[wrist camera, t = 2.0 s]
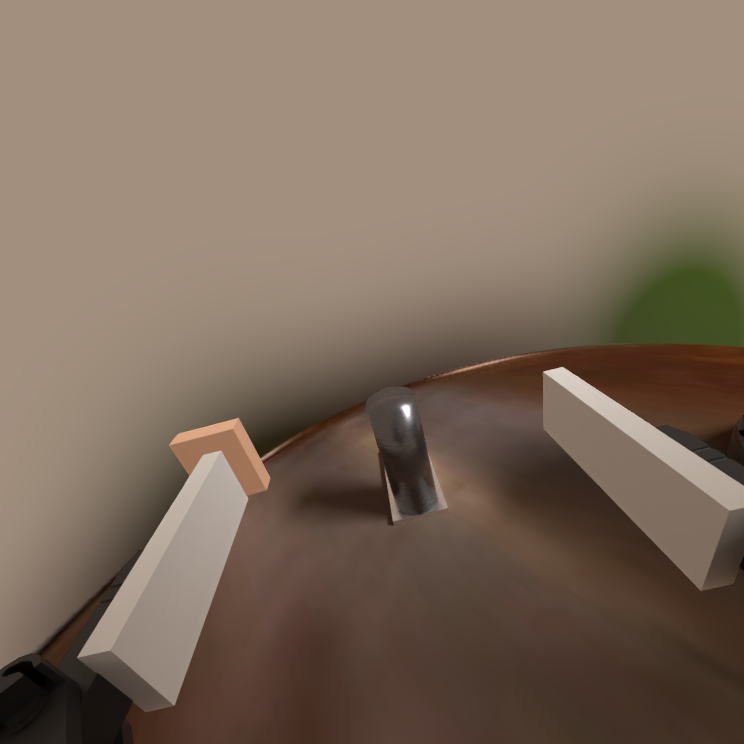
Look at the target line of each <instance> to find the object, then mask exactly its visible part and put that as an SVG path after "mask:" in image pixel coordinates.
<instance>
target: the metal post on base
mask: <svg viewBox="0 0 744 744" xmlns="http://www.w3.org/2000/svg"><path fill="white" fill-rule="evenodd" d="M366 409H367V412H368V416H369V419H370V422H371V425H372V429H373V432H374V435H375V438H376V442H377V445H378V448H379V451H380V455H381V458H382V461H383V464H384V468H385V475H386V481H387V487H388V494H389V500H390V506H391V513H392V519H393V523H394V526H395V525H399V524H403V523H408V522H412V521H416V520H420V519H424V518H428V517H432V516H436V515H441V514H445V513H449V511H448V507H447V504H446V501H445V499H444V496H443V493H442V490H441V487H440V485H439V482H438V479H437V476H436V473H435V471H434V468H433V465H432V462H431V459H430V457H429V454H428V451H427V447H426V442H425V438H424V433H423V429H422V424H421V420H420V415H419V411H418V406H417V401H416V397H415V393H414V392H413V391H412V390H411V389H409V388H406V387H390V388H386V389H383V390H380V391H378V392H376V393H375V394H373V395H372V396H371V397H370V398H369V399H368V400H367V402H366Z"/></svg>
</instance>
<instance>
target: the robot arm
mask: <svg viewBox="0 0 744 744" xmlns="http://www.w3.org/2000/svg"><path fill="white" fill-rule="evenodd" d="M543 429H544V430H545V431H546V432H547V433H548V434H549V435H550V436H551V437H552V438H553V439H554V440H555V441H556V442H557V443H558V444H559V445H560V446H561V447H562V448H563V449H564V450H565V451H566V452H567V453H568V454H569V455H570V456H571V457H572V459H573V460H574V461H575V462H576V463H577V464H578V465H579V466H580V467H581V468H582V469H583V470H584V471H585V472H586V473H587V474H588V475H589V476H590V477H591V478H592V479H593V480H594V481H595V482H596V483H597V484H598V485H599V486H600V487H601V488H602V489H603V491H604V492H605V493H606V494H607V495H608V496H609V497H610V498H611V499H612V500H613V501H614V502H615V503H616V504H617V505H618V506H619V507H620V508H621V509H622V510H623V511H624V512H625V513H626V514H627V515H628V516H629V517H630V518H631V519H632V520H633V521H634V523H635V524H636V525H637V526H638V527H639V528H640V529H641V530H642V531H643V532H644V533H645V534H646V535H647V536H648V537H649V538H650V539H651V540H652V541H653V542H654V543H655V544H656V545H657V546H658V547H659V548H660V549H661V550H662V551H663V552H664V553H665V555H666V556H667V557H668V558H669V559H670V560H671V561H672V562H673V563H674V564H675V565H676V566H677V567H678V568H679V569H680V570H681V571H682V572H683V573H684V574H685V575H686V576H687V577H688V578H689V579H690V580H691V581H692V582H693V583H694V584H695V585H696V587H697V588H698V589H699V590H700V591H704V590H709V589H713V588H718V587H722V586H727V585H731V584H734V582H735V580H736V577H737V575H738V572H739V570H740V568H741V569H743V570H744V415H743V416H742V417H741V418H740V419H739V421H738V422H737V423H736V425H735V427H734V429H733V432H732V435H731V438H730V441H729V444H728V448H727V456H726V455H724V454H722V453H721V452H719V451H718V450H716V449H714V448H712V449H711V448H710V446H709V445H708V444H706V443H704V442H703V441H701V440H699V439H698V438H696V437H695V436H693V435H691V434H689V433H687V432H684V431H681V430H678V429H676V428H673V427H670V426H667V425H664V426H660V427H656V428H655V427H653V426H652V425H650V424H649V423H647V422H646V421H644V420H643V419H641V418H640V417H638V416H637V415H635V414H633V413H632V412H630V411H629V410H627V409H626V408H624V407H623V406H621V405H620V404H618V403H617V402H615V401H614V400H612V399H611V398H609V397H608V396H606V395H605V394H603V393H601V392H600V391H598V390H597V389H595V388H594V387H592V386H591V385H589V384H588V383H586V382H585V381H583V380H582V379H580V378H579V377H577V376H576V375H574V374H573V373H571V372H569V371H568V370H566V369H565V368H563V367H561V368H557V369H553V370H548V371H544V372H543ZM247 501H248V497H247V496H246V494H245V492H244V490H243V488H242V487H241V485H240V483H239V481H238V480H237V478H236V476H235V474H234V473H233V471H232V469H231V467H230V465H229V464H228V462H227V460H226V458H225V457H224V455H223V453H222V451H217V452H213V453H209V454H205V455H203V456H202V457H201V459H200V461H199V462H198V464H197V465H196V467H195V469H194V470H193V472H192V473H191V475H190V477H189V478H188V480H187V482H186V483H185V485H184V486H183V488H182V490H181V491H180V493H179V494H178V496H177V498H176V499H175V501H174V502H173V504H172V506H171V507H170V509H169V511H168V512H167V514H166V515H165V517H164V519H163V520H162V522H161V523H160V525H159V527H158V528H157V530H156V531H155V533H154V535H153V536H152V538H151V539H150V541H149V543H148V544H147V546H146V547H145V549H142V550H139V551H138V552H137V553H136V554H135V555H134V556H133V557H132V558H131V559H130V560H129V561H128V562H127V563H126V564H125V565H124V566H123V568H122V569H121V571H120V572H119V574H118V575H117V577H116V578H115V580H114V581H113V583H112V584H111V586H110V587H111V588H110V590H107V592H106V594H105V595H104V597H103V598H102V600H101V601H100V605H99V606H97V607H96V609H95V610H94V612H93V613H92V615H91V617H90V618H89V620H88V621H87V623H86V624H85V626H84V627H83V629H82V630H81V632H80V633H79V635H78V636H77V638H76V639H75V641H74V643H73V644H72V646H71V647H70V649H69V650H68V652H67V653H66V655H65V656H64V658H63V659H62V661H61V662H60V664H59V666H58V667H57V668H56V667H55V666H54V665H52V664H51V663H49V662H48V661H47V660H45V659H44V658H43V657H41V656H40V655H37V654H32V653H31V654H28V655H25V656H22V657H19V658H18V659H16V660H14V661H13V662H11V663H9V664H8V665H6V666H5V667H3V668H2V669H1V670H0V744H134V742H133V735H132V729H131V726H130V724H129V722H128V720H127V719H126V718H125V717H126V715H127V713H128V711H129V708H130V706H131V704H132V702H133V703H135V704H136V705H137V706H138V707H140V708H141V709H142V710H143V711H145V712H148V711H153V710H158V709H162V708H167V707H171V706H175V703H176V700H177V697H178V695H179V692H180V689H181V686H182V683H183V681H184V678H185V675H186V672H187V669H188V666H189V664H190V661H191V658H192V655H193V652H194V650H195V647H196V644H197V641H198V638H199V636H200V633H201V630H202V627H203V624H204V622H205V619H206V616H207V613H208V610H209V608H210V605H211V602H212V599H213V596H214V594H215V591H216V588H217V585H218V582H219V580H220V577H221V574H222V571H223V568H224V566H225V563H226V560H227V557H228V554H229V552H230V549H231V546H232V543H233V540H234V538H235V535H236V532H237V529H238V526H239V524H240V521H241V518H242V515H243V512H244V510H245V507H246V504H247Z"/></svg>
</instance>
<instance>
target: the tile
mask: <svg viewBox="0 0 744 744" xmlns="http://www.w3.org/2000/svg"><path fill="white" fill-rule="evenodd" d="M169 446H170V448H171V449H172V451H173V452H174V453H175V455H176V456H177V458H178V459H179V461H180V462H181V464H182V465H183V467H184V468H185V470H186V471H187V473H188V474H189V476H190V475H191V473H192V472H193V470H194V469H195V467H196V465H197V464H198V462H199V461H200V459H201V457H202V456H203V455H205V454H209V453H213V452H217V451H222V453H223V455H224V457H225V458H226V460H227V462H228V464H229V465H230V467H231V469H232V471H233V473H234V474H235V476H236V478H237V480H238V481H239V483H240V485H241V487H242V488H243V490H244V492H245V494H246V496H247V495H251V494H255V493H259V492H263V491H267V487H268V484H269V481H270V476H269V474H268V473H267V471H266V469H265V467H264V465H263V463H262V461H261V459H260V457H259V456H258V454H257V452H256V450H255V448H254V446H253V444H252V443H251V440H250V439H249V437H248V435H247V433H246V431H245V429H244V427H243V425H242V423H241V422H240V420H239V418H237V419H233V420H230V421H226V422H222V423H218V424H215V425H210V426H206V427H203V428H199V429H195V430H191V431H187V432H184V433H180V434H178V435H177V436H176V437H175V439H174V440H173V441H172V442H171V444H170V445H169Z"/></svg>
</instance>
